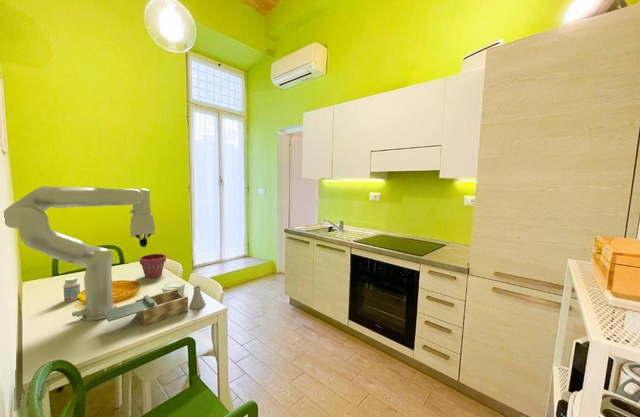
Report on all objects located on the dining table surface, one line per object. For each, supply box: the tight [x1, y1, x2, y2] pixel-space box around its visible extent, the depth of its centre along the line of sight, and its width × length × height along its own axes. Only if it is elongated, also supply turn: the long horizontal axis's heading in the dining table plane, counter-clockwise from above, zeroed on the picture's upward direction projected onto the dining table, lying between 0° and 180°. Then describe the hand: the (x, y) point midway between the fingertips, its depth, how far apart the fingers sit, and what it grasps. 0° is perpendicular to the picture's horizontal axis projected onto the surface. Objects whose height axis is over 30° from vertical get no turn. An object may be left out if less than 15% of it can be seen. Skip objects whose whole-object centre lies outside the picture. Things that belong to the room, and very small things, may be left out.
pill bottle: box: [62, 276, 81, 303], centre depth 132 cm, size 6×6×11 cm
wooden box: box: [135, 289, 189, 327], centre depth 121 cm, size 18×13×7 cm
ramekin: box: [161, 281, 186, 295], centre depth 141 cm, size 11×11×5 cm
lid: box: [103, 294, 158, 323], centre depth 112 cm, size 18×10×3 cm, turn 138°
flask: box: [188, 285, 207, 310], centre depth 129 cm, size 7×7×10 cm
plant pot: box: [139, 253, 167, 279], centre depth 167 cm, size 14×14×13 cm
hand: (143, 246), depth 137 cm, fingers closed
